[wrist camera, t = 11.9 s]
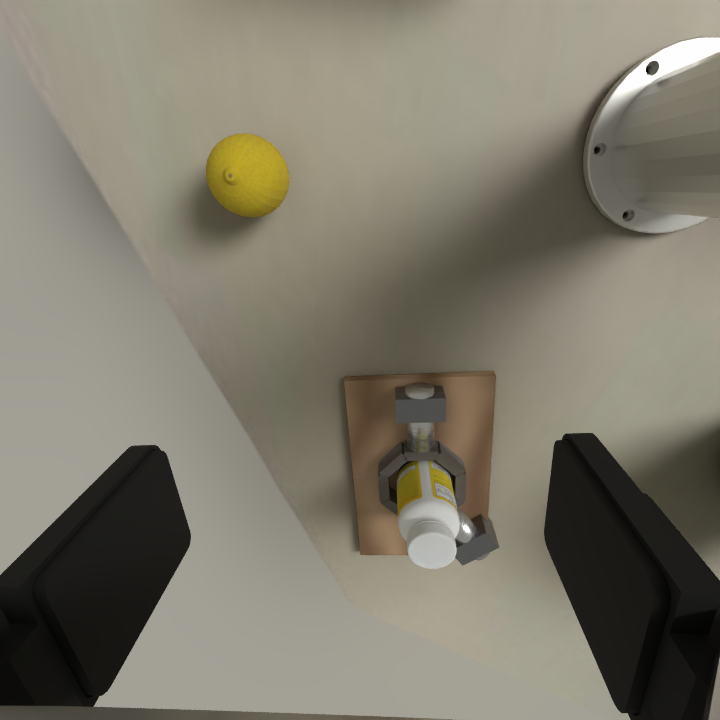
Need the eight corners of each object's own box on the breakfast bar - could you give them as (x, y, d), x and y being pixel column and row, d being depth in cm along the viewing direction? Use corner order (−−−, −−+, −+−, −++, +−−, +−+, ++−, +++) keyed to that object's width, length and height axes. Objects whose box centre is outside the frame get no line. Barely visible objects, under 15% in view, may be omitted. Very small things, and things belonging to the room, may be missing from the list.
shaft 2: (428, 506, 46) (431, 532, 42) (462, 487, 44) (468, 512, 41) (459, 541, 47) (464, 567, 44) (493, 523, 46) (501, 549, 42)
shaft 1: (441, 431, 42) (445, 452, 38) (397, 432, 42) (397, 453, 39) (441, 376, 40) (446, 394, 36) (394, 378, 40) (395, 395, 37)
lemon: (275, 227, 35) (244, 238, 28) (219, 184, 34) (172, 184, 27) (311, 170, 33) (289, 166, 26) (254, 123, 32) (213, 104, 25)
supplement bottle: (396, 494, 44) (397, 574, 35) (396, 451, 42) (398, 524, 33) (448, 495, 44) (463, 576, 35) (451, 452, 41) (467, 526, 32)
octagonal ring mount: (493, 371, 39) (501, 385, 36) (483, 547, 47) (489, 570, 44) (344, 376, 40) (341, 390, 37) (361, 547, 48) (359, 569, 46)
